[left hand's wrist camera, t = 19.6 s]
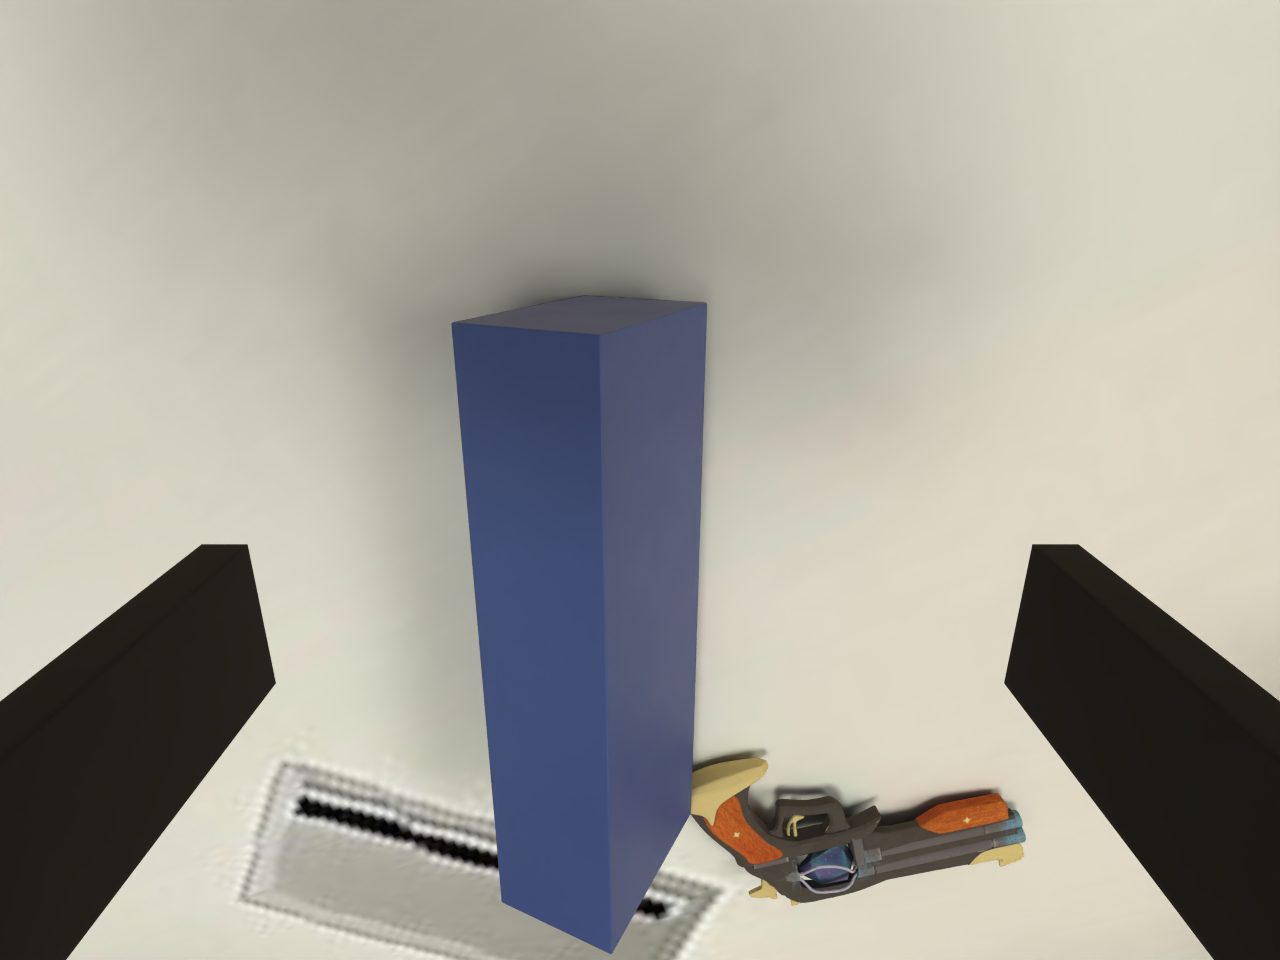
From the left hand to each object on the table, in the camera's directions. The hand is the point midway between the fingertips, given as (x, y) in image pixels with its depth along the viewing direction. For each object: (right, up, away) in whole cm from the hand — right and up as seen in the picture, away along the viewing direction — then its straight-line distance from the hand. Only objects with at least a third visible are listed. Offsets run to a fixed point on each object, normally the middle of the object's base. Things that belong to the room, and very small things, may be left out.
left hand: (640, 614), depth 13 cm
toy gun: (+12, -17, +31) cm, 37 cm away
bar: (0, -3, +24) cm, 24 cm away
